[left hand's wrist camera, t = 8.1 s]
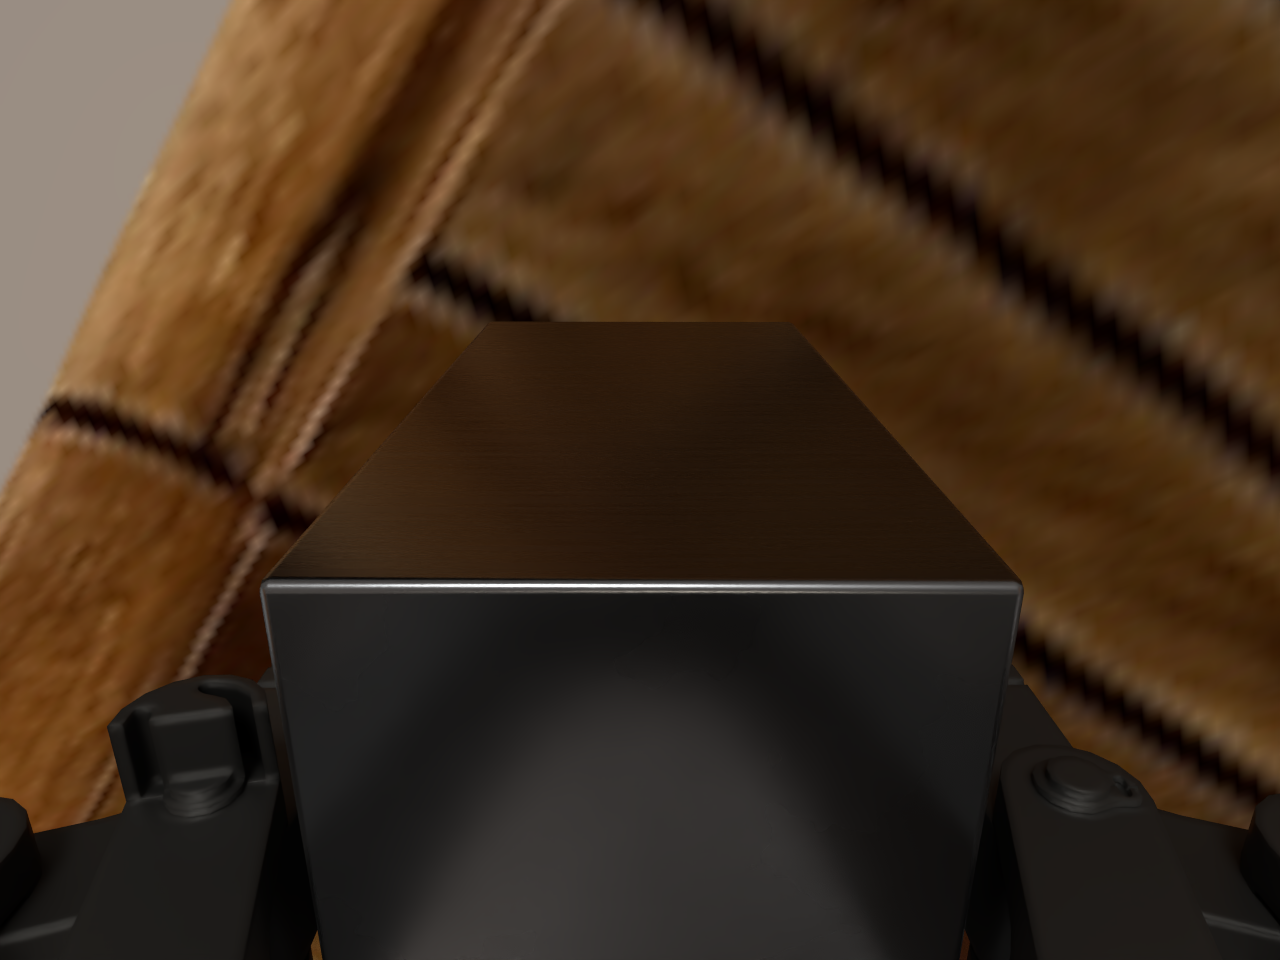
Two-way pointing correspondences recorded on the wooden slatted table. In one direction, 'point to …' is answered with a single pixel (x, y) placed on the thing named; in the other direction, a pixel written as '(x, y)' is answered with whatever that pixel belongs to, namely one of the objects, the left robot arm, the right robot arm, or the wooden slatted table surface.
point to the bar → (641, 664)
